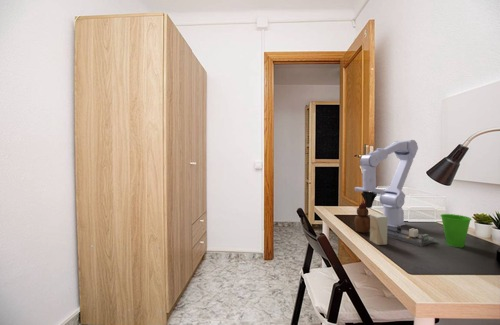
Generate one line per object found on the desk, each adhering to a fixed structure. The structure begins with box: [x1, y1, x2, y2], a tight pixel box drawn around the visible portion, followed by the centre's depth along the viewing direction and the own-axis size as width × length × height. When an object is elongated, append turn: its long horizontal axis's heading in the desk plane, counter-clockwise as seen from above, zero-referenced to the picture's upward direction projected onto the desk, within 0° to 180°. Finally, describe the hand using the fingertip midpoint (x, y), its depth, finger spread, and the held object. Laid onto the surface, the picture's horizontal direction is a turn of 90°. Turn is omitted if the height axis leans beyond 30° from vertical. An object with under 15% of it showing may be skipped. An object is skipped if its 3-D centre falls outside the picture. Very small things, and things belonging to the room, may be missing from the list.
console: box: [387, 225, 436, 247], centre depth 99 cm, size 10×19×4 cm, turn 28°
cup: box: [439, 213, 472, 248], centre depth 90 cm, size 9×9×11 cm
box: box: [369, 213, 388, 246], centre depth 93 cm, size 5×4×11 cm
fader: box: [408, 228, 419, 237], centre depth 95 cm, size 3×2×3 cm
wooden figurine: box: [353, 199, 370, 234], centre depth 107 cm, size 7×6×15 cm
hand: (369, 207), depth 112 cm, fingers closed
